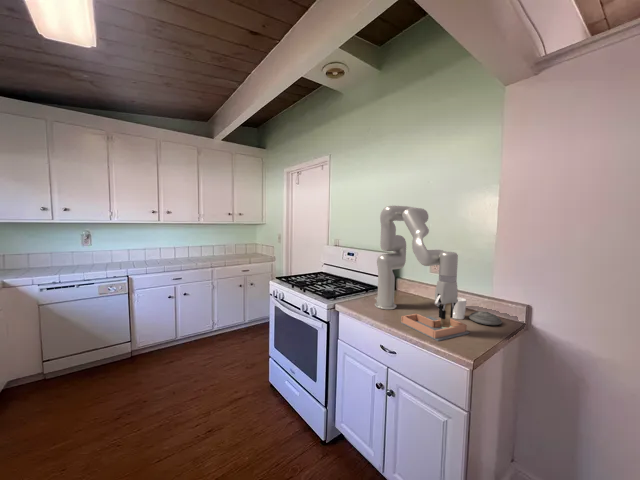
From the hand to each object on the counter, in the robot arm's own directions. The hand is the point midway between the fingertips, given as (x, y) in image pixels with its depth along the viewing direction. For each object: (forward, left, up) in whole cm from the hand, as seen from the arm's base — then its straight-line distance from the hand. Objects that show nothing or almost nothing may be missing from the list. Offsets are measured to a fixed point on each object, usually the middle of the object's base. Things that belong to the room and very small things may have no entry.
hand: (445, 317), depth 130 cm
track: (-5, -2, -7) cm, 9 cm away
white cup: (-11, +22, -7) cm, 26 cm away
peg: (0, 0, -4) cm, 4 cm away
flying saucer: (-1, +30, -7) cm, 31 cm away
